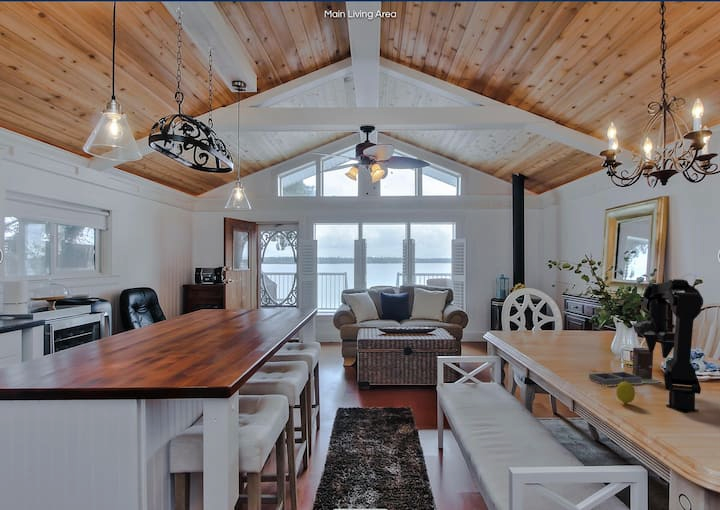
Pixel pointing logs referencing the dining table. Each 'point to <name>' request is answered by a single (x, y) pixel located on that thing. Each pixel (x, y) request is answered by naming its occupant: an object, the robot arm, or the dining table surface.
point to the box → (642, 362)
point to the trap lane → (620, 378)
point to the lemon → (625, 392)
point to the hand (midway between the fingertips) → (657, 355)
